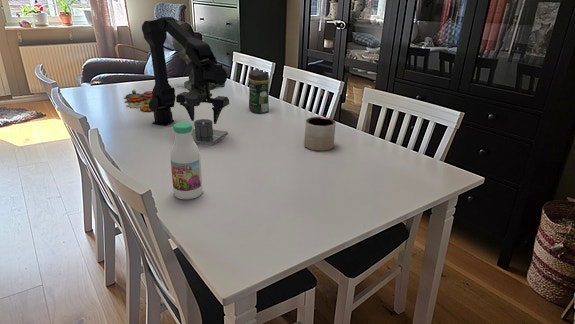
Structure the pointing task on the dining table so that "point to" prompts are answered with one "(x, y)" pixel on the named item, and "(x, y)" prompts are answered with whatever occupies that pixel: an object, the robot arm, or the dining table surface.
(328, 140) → the planter
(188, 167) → the milk bottle
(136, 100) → the gear puzzle
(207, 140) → the mounting plate
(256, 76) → the coffee jar
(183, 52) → the stuffed elephant
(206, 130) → the knob
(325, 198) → the dining table surface
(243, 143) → the dining table surface
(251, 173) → the dining table surface
